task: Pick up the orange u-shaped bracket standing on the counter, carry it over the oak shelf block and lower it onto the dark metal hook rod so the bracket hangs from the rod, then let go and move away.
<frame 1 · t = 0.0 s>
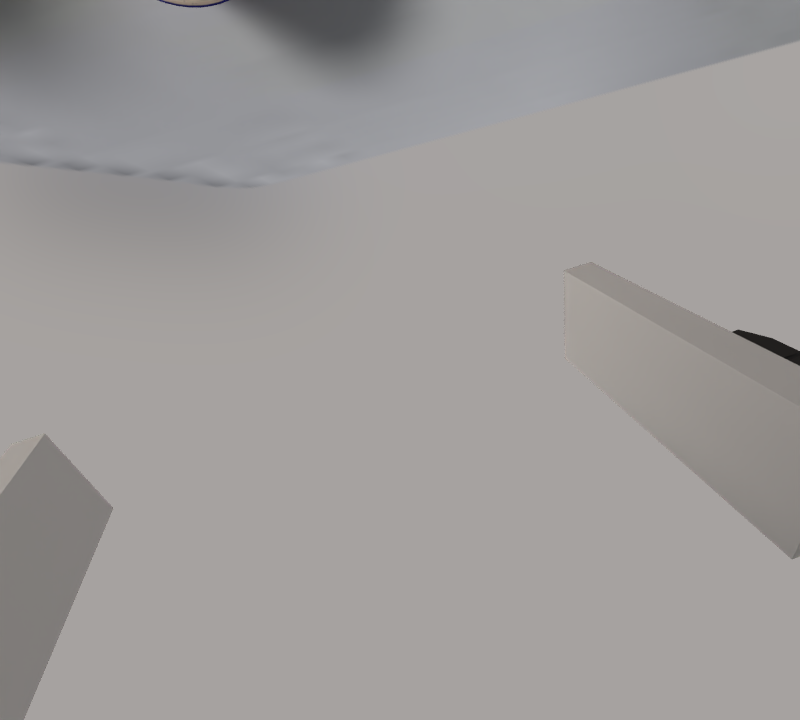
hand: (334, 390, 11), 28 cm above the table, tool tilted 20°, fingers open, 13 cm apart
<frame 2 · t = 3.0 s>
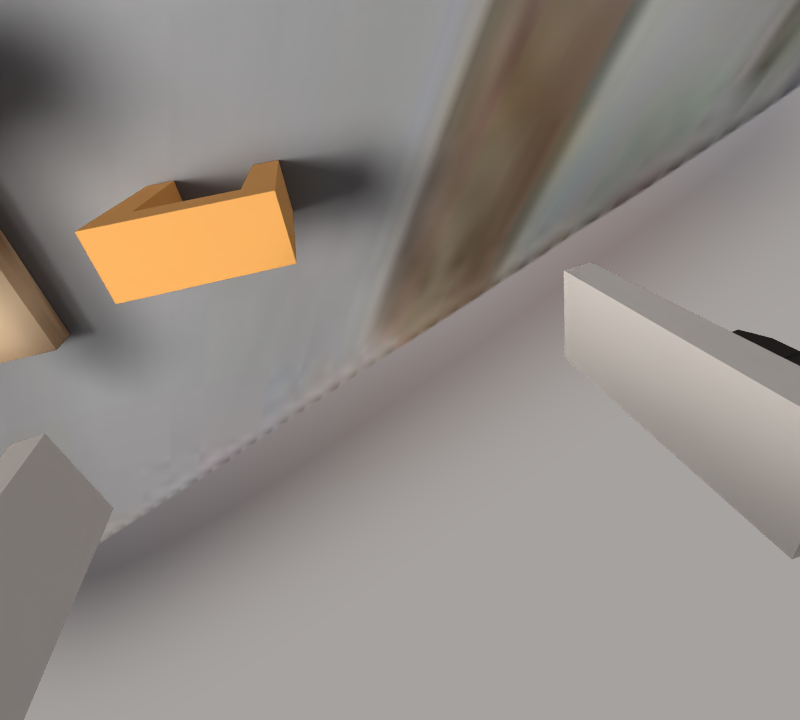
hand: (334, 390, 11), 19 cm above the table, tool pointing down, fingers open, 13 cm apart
orange u-shaped bracket: (223, 199, 26), on the table
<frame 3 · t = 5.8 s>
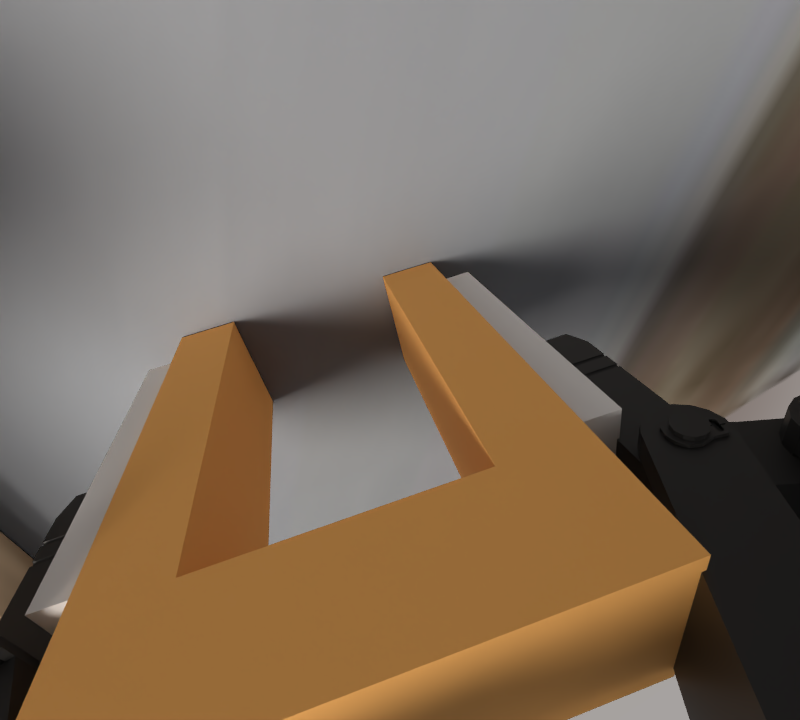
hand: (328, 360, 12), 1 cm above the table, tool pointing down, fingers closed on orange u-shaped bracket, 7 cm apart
orange u-shaped bracket: (325, 342, 13), on the table, touching gripper
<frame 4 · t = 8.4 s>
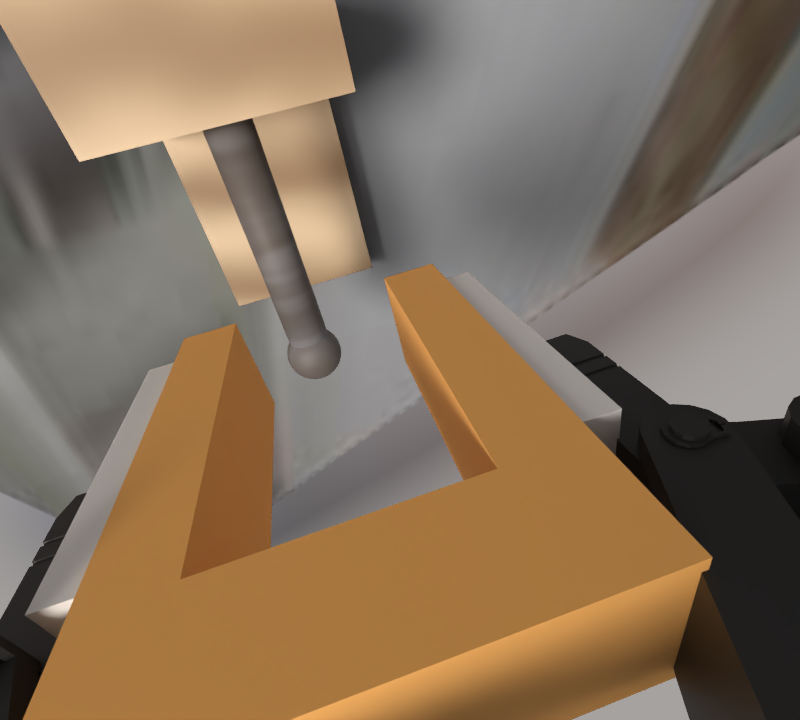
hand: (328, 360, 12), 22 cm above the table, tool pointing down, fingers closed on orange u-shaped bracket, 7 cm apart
orange u-shaped bracket: (326, 343, 13), point 20 cm above the table, touching gripper
shelf: (266, 167, 29), on the table
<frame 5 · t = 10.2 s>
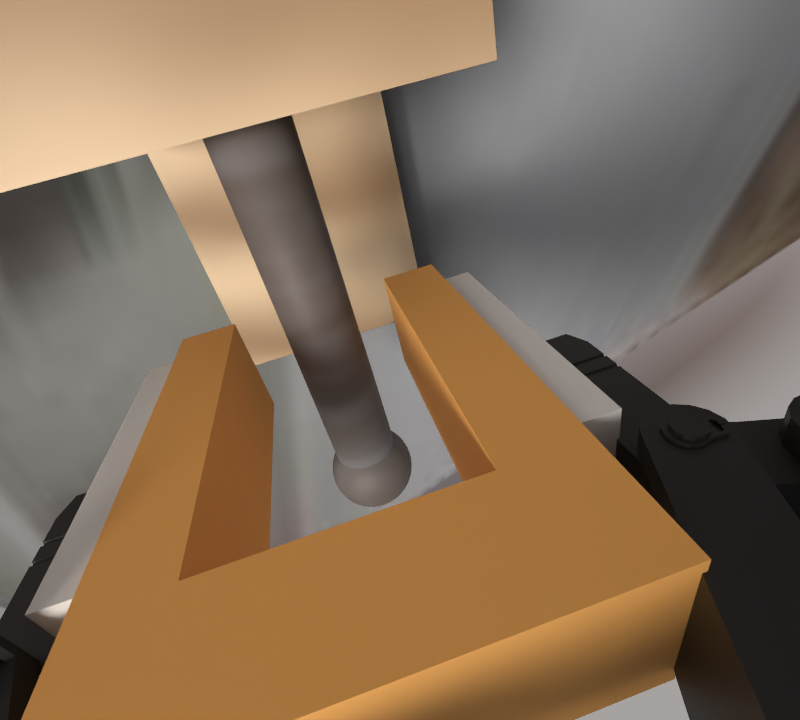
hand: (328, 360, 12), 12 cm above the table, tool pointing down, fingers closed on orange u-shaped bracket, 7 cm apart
orange u-shaped bracket: (326, 343, 13), point 11 cm above the table, touching gripper
shelf: (289, 183, 21), on the table
when the fingers open (8 cm above the table, at t = 11.5 s): orange u-shaped bracket drops 1 cm, resting on shelf.
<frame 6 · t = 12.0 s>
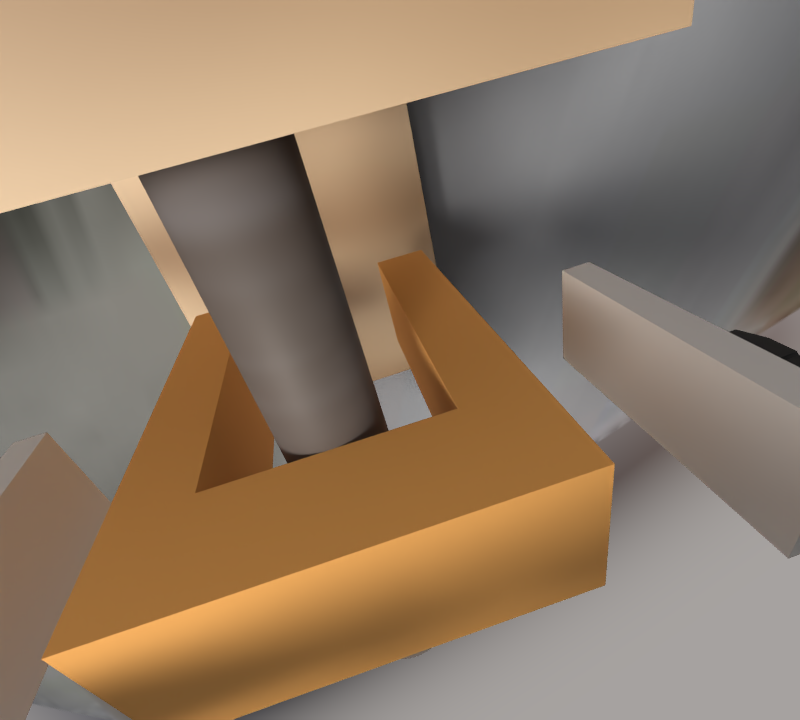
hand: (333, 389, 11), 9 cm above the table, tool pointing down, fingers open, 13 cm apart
orange u-shaped bracket: (324, 322, 15), point 5 cm above the table, touching shelf
shelf: (288, 204, 17), on the table
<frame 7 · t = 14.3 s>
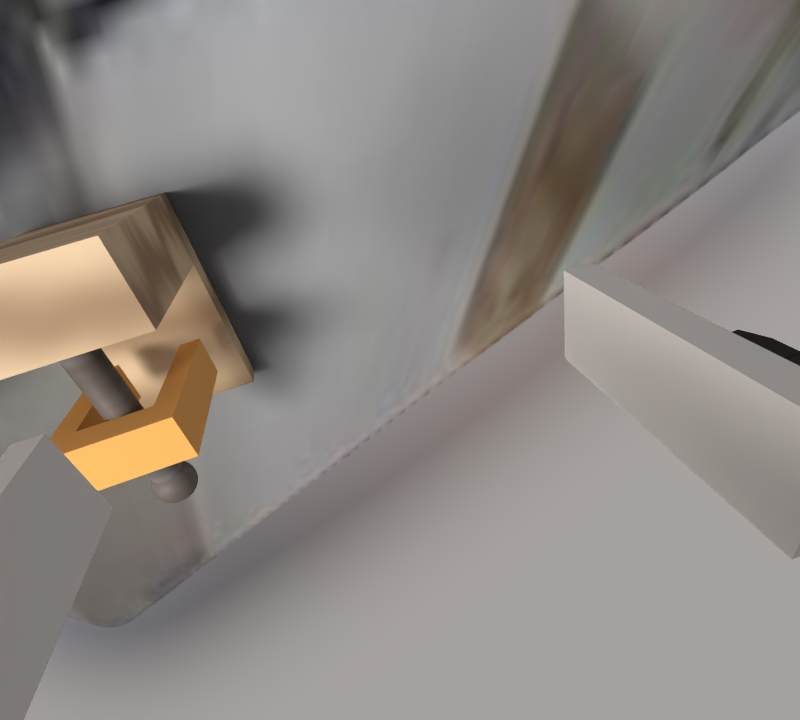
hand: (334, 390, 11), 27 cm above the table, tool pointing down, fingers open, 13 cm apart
orange u-shaped bracket: (160, 371, 32), point 5 cm above the table, touching shelf
shelf: (154, 310, 35), on the table
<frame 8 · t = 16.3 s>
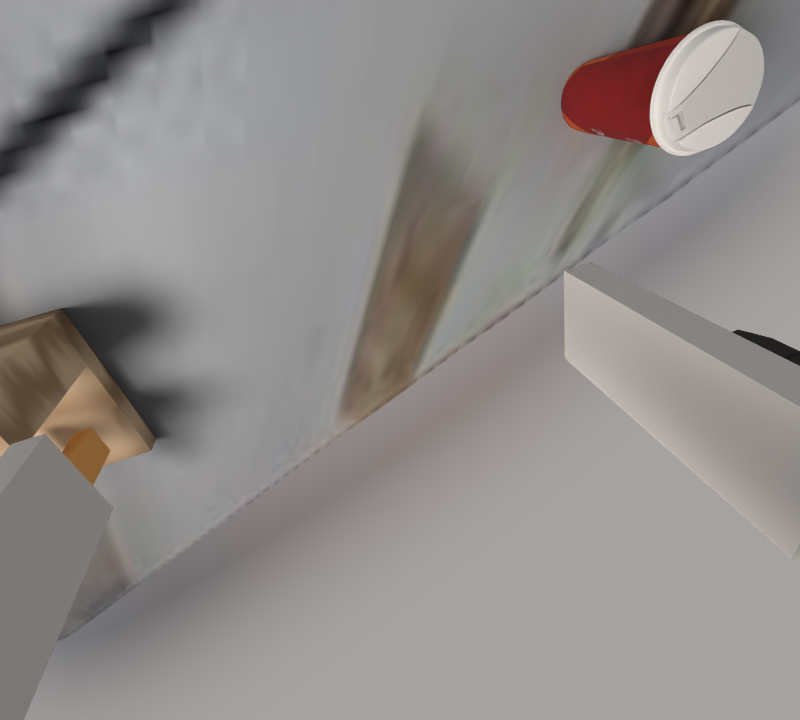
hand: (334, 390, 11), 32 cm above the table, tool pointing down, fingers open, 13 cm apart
orange u-shaped bracket: (60, 452, 39), point 5 cm above the table, touching shelf
shelf: (62, 395, 42), on the table
paper cup: (587, 96, 40), on the table
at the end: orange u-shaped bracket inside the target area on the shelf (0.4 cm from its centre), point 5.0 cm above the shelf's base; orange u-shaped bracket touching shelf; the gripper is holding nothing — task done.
